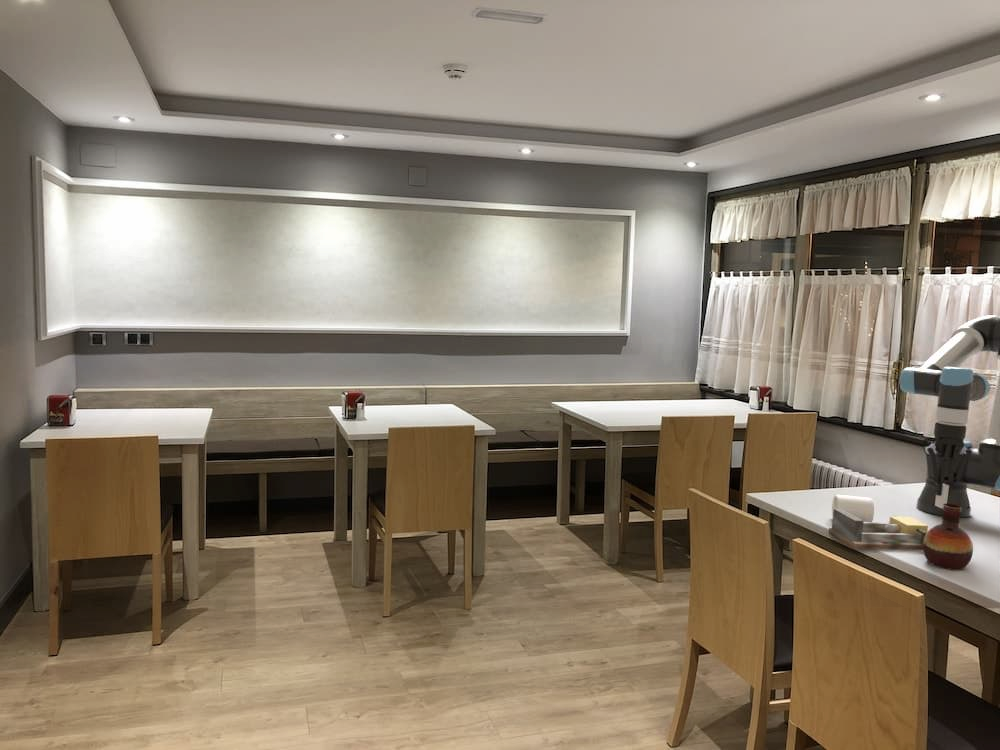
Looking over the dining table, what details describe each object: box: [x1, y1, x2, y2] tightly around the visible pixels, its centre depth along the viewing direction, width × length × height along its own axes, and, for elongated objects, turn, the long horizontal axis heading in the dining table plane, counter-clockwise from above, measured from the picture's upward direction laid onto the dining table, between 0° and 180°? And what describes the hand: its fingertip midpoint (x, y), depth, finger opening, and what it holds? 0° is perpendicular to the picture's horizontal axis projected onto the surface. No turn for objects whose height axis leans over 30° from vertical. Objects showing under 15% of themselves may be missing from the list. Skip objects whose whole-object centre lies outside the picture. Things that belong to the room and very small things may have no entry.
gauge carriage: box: [885, 516, 929, 543], centre depth 214 cm, size 9×11×4 cm
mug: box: [831, 494, 875, 522], centre depth 234 cm, size 12×10×8 cm
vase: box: [922, 504, 974, 571], centre depth 197 cm, size 11×11×15 cm
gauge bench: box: [828, 509, 923, 551], centre depth 215 cm, size 24×14×7 cm, turn 95°
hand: (940, 506), depth 215 cm, fingers closed
